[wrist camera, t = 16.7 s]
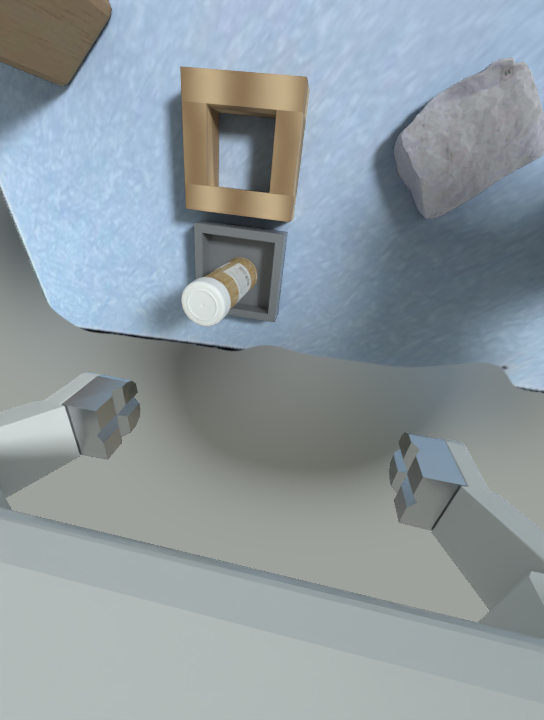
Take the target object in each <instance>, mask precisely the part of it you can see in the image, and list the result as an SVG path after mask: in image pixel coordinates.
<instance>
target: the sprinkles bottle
mask: <svg viewBox="0 0 544 720" xmlns="http://www.w3.org/2000/svg"><path fill="white" fill-rule="evenodd" d="M257 276H258V275H257V270H256V267H255V266H254V264H253V263H252V262H251V261H250V260H248V259H246V258H243V257H237V258H234V259H232V260H230V261H229V262H228V263H226V264H224V265H222V266H220V267H219V268H217V269H216V270H215V271H213V272H211V273H210V274H208V275H207V276H205V277H201V278H198V279H196V280H194V281H193V282H191V283H190V284H188V285H187V286H186V287H185V289H184V291H183V293H182V297H181V302H182V307H183V310H184V312H185V313H186V315H187V316H188V317H189V318H190V319H191V320H192V321H193V322H195V323H196V324H199V325H202V326H213V325H215V324H217V323H219V322H220V321H221V320H222V319H223V318H224V317H225V316H226V315H227V314H228V312H229V310H230V309H231V308H232V307H233V306H234V305H235V304H236V303H237V302H238V301H239V300H240V299H241V298H242V297H243V296H244V295H245V294H246V293H247V292H248V291H249V290H250V289H251V288H253V287H254V285H255V284H256V282H257Z"/></svg>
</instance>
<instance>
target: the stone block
mask: <svg viewBox="0 0 544 720" xmlns="http://www.w3.org/2000/svg"><path fill="white" fill-rule="evenodd" d="M393 152H394V158H395V161H396V166H397V171H398V175H399V176H400V177H401V179H402V180H403V182H404V183H405V186H406V187H408V188H409V189H410V192H411V194H412V198H413V200H414V202H415V205H416V207H417V209H418V211H419V213H420V214H421V215H422V216H423V217H424V218H425V219H435V218H437V217H440V216H443V215H444V214H446V213H448V212H449V211H451V210H453V209H455V208H457V207H459V206H460V205H462V204H463V203H465V202H466V201H468V200H470V199H471V198H473V197H475V196H476V195H478V194H479V193H481V192H482V191H484V190H485V189H487V188H488V187H489V186H491V185H492V184H494V183H495V182H497V181H498V180H500V179H502V178H503V177H505V176H507V175H508V174H510V173H512V172H513V171H515V170H517V169H519V168H521V167H523V166H525V165H527V164H529V163H531V162H532V161H534V160H535V159H537V158H539V157H540V156H542V155H543V154H544V113H543V110H542V106H541V102H540V99H539V95H538V90H537V87H536V85H535V82H534V79H533V76H532V73H531V71H530V69H529V68H528V66H527V65H526V64H525V63H524V62H521V63H515V62H514V58H508V59H499V60H497V61H495V62H493V63H492V64H490V65H489V66H488V67H486V68H485V69H484V70H482V71H481V72H479V73H477V74H475V75H472V76H470V77H468V78H465V79H463V80H462V81H460V82H458V83H456V84H454V85H452V86H451V87H449V88H448V89H446V90H445V91H444V92H442V93H440V94H438V95H437V96H435V97H434V98H433V99H431V100H430V101H429V102H428V103H427V105H426V106H425V107H424V108H423V109H422V110H421V111H420V113H419V114H418V115H416V117H415V118H414V119H413V121H412V122H411V123H410V124H409V125H408V126H407V127H406V128H405V129H404V130H402V132H401V133H400V134H399V135H398V137H397V138H396V142H395V147H394V151H393Z"/></svg>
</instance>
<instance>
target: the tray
mask: <svg viewBox="0 0 544 720" xmlns="http://www.w3.org/2000/svg"><path fill="white" fill-rule="evenodd" d="M287 233H288V232H284V231H277V230H269V229H262V228H254V227H247V226H239V225H231V224H224V223H216V222H209V221H200V222H195V223H194V243H195V280H196V279H198V278H201V277H205V276H207V275H208V274H210V273H211V272H213V271H215V270H216V269H217V268H219V267H220V266H222V265H224V264H226V263H228V262H229V261H230V260H232V259H234V258H237V257H243V258H246V259H248V260H250V261H251V262H252V263H253V264H254V266H255V267H256V270H257V275H258V276H257V282H256V284H255V285H254V287H253V288H251V289H250V290H249V291H248V292H247V293H246V294H245V295H244V296H243V297H242V298H241V299H240V300H239V301H238V302H237V303H236V304H235V305H234V306H233V307H232V308H231V309H230V310H229V312H228V314H227V315H233V316H239V317H245V318H251V319H257V320H264V321H270V322H275V320H276V318H277V315H278V309H279V301H280V292H281V284H282V275H283V267H284V258H285V250H286V242H287Z"/></svg>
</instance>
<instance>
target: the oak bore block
mask: <svg viewBox="0 0 544 720" xmlns="http://www.w3.org/2000/svg"><path fill="white" fill-rule="evenodd" d="M180 69H181V94H182V120H183V146H184V172H185V197H186V209H193V210H201V211H208V212H216V213H224V214H232V215H239V216H247V217H255V218H263V219H270V220H278V221H286V222H290V221H292V220H293V217H294V209H295V201H296V193H297V186H298V178H299V170H300V162H301V154H302V146H303V138H304V130H305V122H306V114H307V106H308V98H309V85H308V80H307V77H302V76H290V75H278V74H266V73H253V72H241V71H229V70H217V69H205V68H192V67H180ZM219 113H227V114H237V115H247V116H258V117H268V118H276V123H275V135H274V147H273V158H272V170H271V182H270V193H267V192H259V191H250V190H242V189H234V188H225V187H219Z"/></svg>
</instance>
